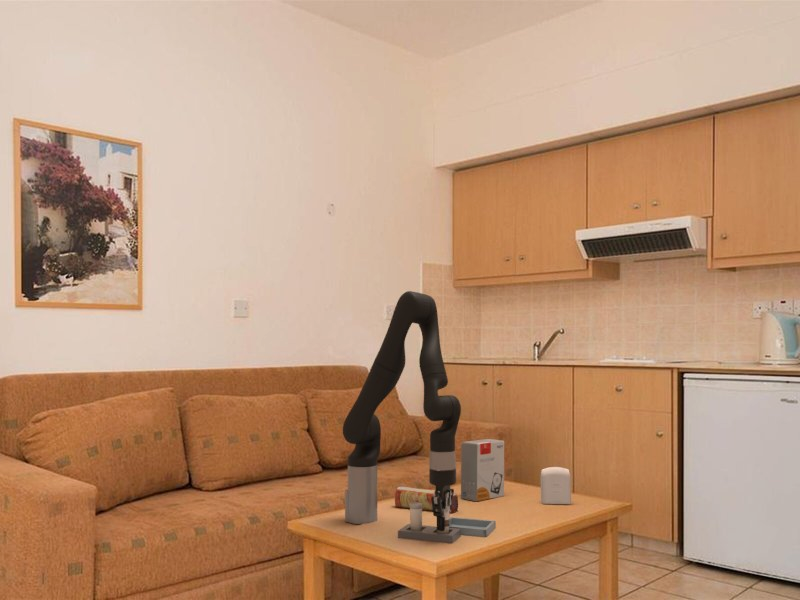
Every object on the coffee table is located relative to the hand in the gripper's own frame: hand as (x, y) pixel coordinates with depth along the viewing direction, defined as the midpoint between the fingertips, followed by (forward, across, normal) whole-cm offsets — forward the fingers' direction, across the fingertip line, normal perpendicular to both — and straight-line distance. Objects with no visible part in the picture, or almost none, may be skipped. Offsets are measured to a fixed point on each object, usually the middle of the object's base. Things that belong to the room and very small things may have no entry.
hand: (443, 528), depth 208 cm
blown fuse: (+3, 0, 0) cm, 3 cm away
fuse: (+3, 0, -8) cm, 8 cm away
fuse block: (+3, 0, -4) cm, 5 cm away
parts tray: (+3, -11, +4) cm, 12 cm away
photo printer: (+3, -58, +22) cm, 62 cm away
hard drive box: (+3, -59, -4) cm, 59 cm away
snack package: (+4, -35, -17) cm, 39 cm away
